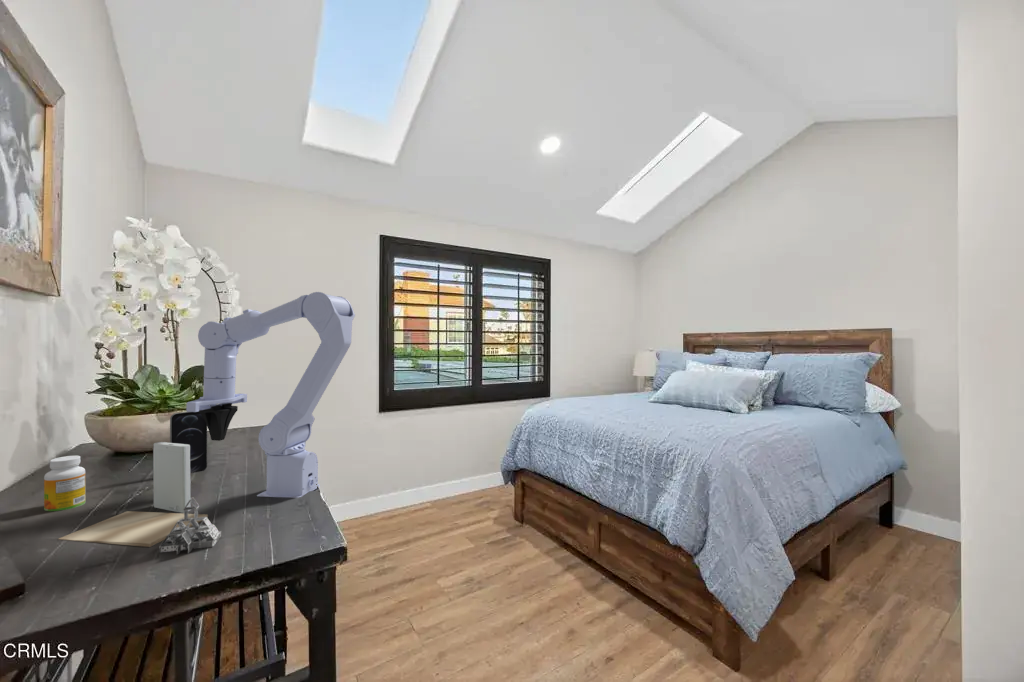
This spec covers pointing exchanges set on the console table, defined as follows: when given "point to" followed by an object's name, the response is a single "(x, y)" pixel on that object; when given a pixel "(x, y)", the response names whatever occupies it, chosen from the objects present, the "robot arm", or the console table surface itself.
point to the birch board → (131, 528)
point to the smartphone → (191, 437)
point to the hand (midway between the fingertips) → (217, 439)
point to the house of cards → (191, 533)
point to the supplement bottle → (64, 484)
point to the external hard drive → (171, 476)
